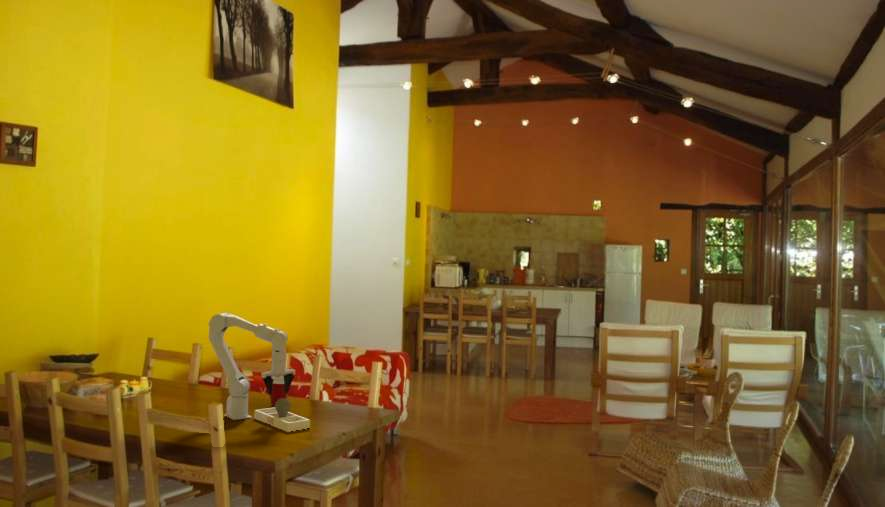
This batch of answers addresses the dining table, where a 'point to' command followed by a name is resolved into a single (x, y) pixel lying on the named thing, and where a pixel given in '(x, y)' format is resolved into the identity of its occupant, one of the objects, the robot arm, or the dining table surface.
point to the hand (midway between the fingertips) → (278, 393)
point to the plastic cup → (277, 390)
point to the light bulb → (282, 407)
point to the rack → (282, 420)
